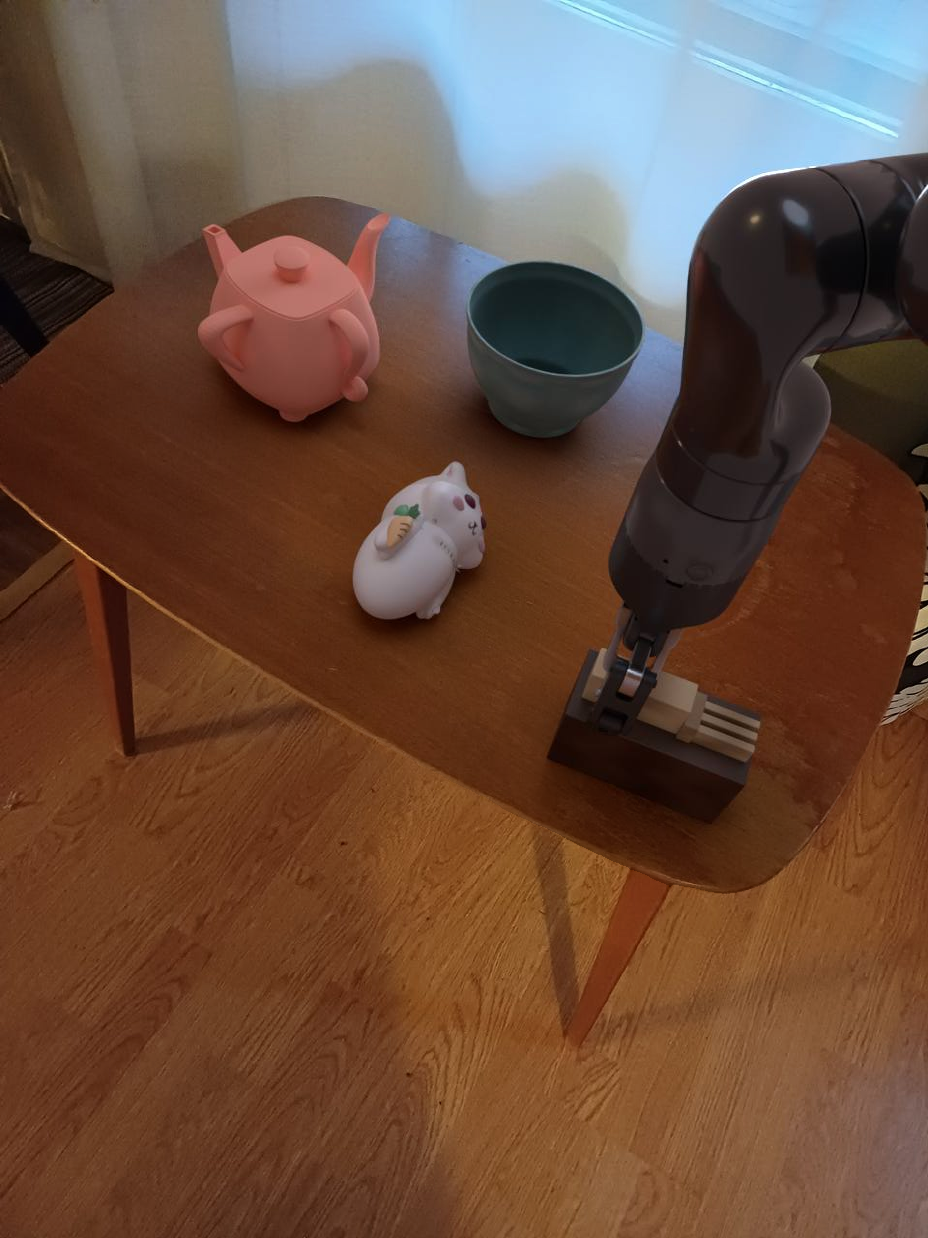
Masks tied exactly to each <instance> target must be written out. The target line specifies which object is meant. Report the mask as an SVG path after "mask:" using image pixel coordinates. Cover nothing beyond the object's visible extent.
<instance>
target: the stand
mask: <svg viewBox="0 0 928 1238" xmlns="http://www.w3.org/2000/svg"><path fill="white" fill-rule="evenodd" d="M599 652H600V650H596V649H594V648H591V647H590V648H589V649H588V652H587V654H586V656H585V658H584V661H583V663H582V666H581V668H580V671H579V673H578V675H577V676H576V677H577V678H576V680H575V682H574V684H573V687H572V689H571V691H570V694H569V696H568V699H567V701H566V704H565V707H564V709H563V712H562V715H561V718H560V719H559V722H558V724H557V725H558V726H557V728H556V730H555V734H554V736H553V738H552V741H551V744H550V747H549V749H548V752H547V755H546V759H548V760H551V761H553V762H555V763H558V764H561V765H564V766H565V767H568V768H570V769H573V770H575V771H577V772H581V773H583V774H586V775H588V776H591V777H593V778H595V779H598V780H599V781H602V782H605V783H608V784H610V785H612V786H615V787H617V788H620V789H622V790H625V791H628V792H629V793H632V794H635V795H638V796H639V797H642V798H645V799H647V800H650V801H652V802H655V803H657V804H660V805H662V806H664V807H667V808H670V809H672V810H675V811H677V812H679V813H682V814H685V815H687V816H690V817H692V818H694V819H696V820H699V821H702V822H703V823H706V824H708V825H712V824H713V823H714V822H715V821H716V819H717V818H719V816H720V815H721V814H722V813H723V812H724V811H725V809H726V808H728V806H729V805H730V804H731V803H732V801H733V800H734V799H735V798H736V797H737V796H738V795H739V794H740V793H741V792H742V791H743V789H744V788H745V787H746V785H747V782H748V776H749V773H750V768H751V763H752V759H753V754H754V753H753V754H752V756H751V757H750V758H749V759H748V760H747V761H746V763H745V762H742V761H740V760H737V759H734V758H732V757H729V756H727V755H724V754H722V753H719V752H717V751H714V750H712V749H709V748H706V747H704V746H701V745H699V744H696V743H694V742H690V743H687V742H684V741H682V740H679V739H677V738H676V735H677V734H674V733H671V732H669V731H666V730H664V729H661V728H659V727H656V726H654V725H651V724H648V723H646V722H643V721H641V720H638V719H636V720H635V722H634V726H633V729H632V731H631V732H630V731H629V733H628V735H627V736H625V735H622V734H620V733H619V734H618V735H617V736H612V737H611V738H610V737H608V736H605V735H603V734H600V733H598V732H595V731H593V730H590V729H591V728H590V727H589V726H588V725H587V724H586V722H587V719H588V716H589V712H590V710H591V708H592V707H593V705H594V703H595V702H592V701H590V700H587V699H585V698H582V694H583V692H584V689H585V686H586V683H587V681H588V678H589V675H590V672H591V670H592V668H593V665H594V663H595V661H596V659H597V656H598V654H599ZM697 691H698V692H700V693H703V694H705V695H707V700H706V701H708V702H710V703H713V704H715V705H718V706H721V707H723V708H726V709H728V710H731V711H733V712H736V713H739V714H741V715H744V716H746V717H749V718H752V719H754V720H757V721H759V722H761V719H762V714H761V713H759V712H756V711H753V710H751V709H748V708H745V707H743V706H741V705H738V704H736V703H733V702H730V701H728V700H725V699H723V698H720V697H718V696H715V695H712V694H709V693H707V692H705V691H703V690H700V689H697ZM756 733H757V734H759V730H758V731H757V732H756ZM753 745H754V746H755V747H756V742H755V743H754V744H753Z"/></svg>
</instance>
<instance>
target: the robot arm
mask: <svg viewBox="0 0 928 1238" xmlns="http://www.w3.org/2000/svg"><path fill="white" fill-rule="evenodd" d="M686 275H687V276H686V293H685V295H686V296H685V321H684V335H683V346H682V347H683V348H682V356H681V357H682V359H681V370H680V371H681V372H680V373H681V374H680V383H679V391H678V394H677V396H676V398H675V400H674V403H673V405H672V408H671V410H670V413H669V416H668V417H667V420H666V423H665V426H664V428H663V431H662V434H661V435H660V438H659V440H658V443H657V445H656V447H655V448H654V451H653V452H652V454H651V455H650V457H649V458H648V460H647V462H646V463H645V464H644V467H643V468H642V470H641V473H640V475H639V477H638V479H637V482H636V484H635V487H634V489H633V492H632V495H631V497H630V500H629V502H628V505H627V506H626V510H625V512H624V515H623V518H622V520H621V522H620V524H619V528H618V529H617V531H616V535H615V538H614V540H613V541H612V542H613V543H612V545H611V547H610V551H609V554H608V561H607V568H608V574H609V578H610V581H611V584H612V585H613V588H614V589H615V591H616V593H617V594H618V596H619V597H620V598H621V600H622V601H621V604H620V606H619V609H618V611H617V614H616V615H615V616H616V617H615V620H614V625H615V629H614V631H613V634H612V636H611V639H610V642H609V644H608V647H607V648H606V649H607V651H606V654H605V656H604V660H603V668H604V670H605V671H606V675H605V678H604V680H603V683H602V685H601V687H600V690H599V689H597V692H596V694H595V697H597V698H596V701H595V703H594V705H593V707H592V708H591V710H590V712H589V716H588V719H587V722H586V724H587V725H588V726H589V727H590V728H591V729H590V730H593V731H595V732H598V733H600V734H603V735H605V736H608V737H610V738H611V737H612V736H617V735H618V734H619V733H620V734H622V735H625V736H627V735H628V733H629V731H630V732H631V731H632V729H633V726H634V722H635V720H636V718H637V717H638V715H639V713H640V711H641V709H642V707H643V706H644V704H645V702H646V700H647V698H648V696H649V695H650V693H651V691H652V689H653V688H654V689H655V687H656V685H657V682H658V680H657V679H658V677H659V675H660V672H661V671H663V668H664V665H665V663H666V660H667V659H668V656H669V654H670V652H671V650H672V649H673V648H676V647H677V645H678V644H679V641H680V639H681V637H682V635H683V632H684V630H685V628H692V627H699V626H702V625H706V624H708V623H710V622H712V621H713V620H716V619H717V618H719V617H720V616H721V615H722V614H724V612H726V610H727V609H728V608H729V607H730V605H731V603H732V601H733V600H734V599H735V597H736V595H737V594H738V592H739V590H740V588H741V587H742V585H743V584H744V582H745V581H746V579H747V577H748V575H749V574H750V572H751V571H752V569H753V567H754V566H755V564H756V563H757V561H758V559H759V558H760V556H761V554H762V553H763V552H764V550H765V548H766V547H767V544H768V542H769V541H770V540H771V538H772V536H773V534H774V533H775V530H776V528H777V526H778V523H779V521H780V519H781V516H782V513H783V510H784V509H785V506H786V504H787V502H788V501H789V500H788V499H789V498H790V497H791V495H792V494H793V492H794V490H795V489H796V487H797V485H798V483H799V482H800V480H801V478H802V477H803V475H804V473H805V472H806V470H807V469H808V467H809V465H810V463H811V462H812V460H813V458H814V457H815V456H816V453H817V452H818V450H819V449H820V446H821V444H822V442H823V440H824V437H825V436H826V433H827V431H828V429H829V426H830V420H831V413H832V405H831V403H832V402H831V397H830V396H831V395H830V393H829V390H828V388H827V385H826V383H825V382H824V380H823V378H822V377H821V376H820V375H819V373H817V372H816V370H815V369H814V368H813V367H811V366H810V365H809V364H808V363H806V362H805V361H804V359H805V358H809V357H813V356H814V357H815V356H817V355H823V354H829V353H833V352H838V351H843V350H848V349H854V348H858V347H862V346H868V345H873V344H878V343H883V342H893V341H894V342H895V341H910V340H911V341H912V340H919V341H920V342H921V343H922V344H924V345H925V346H926V347H928V152H917V153H910V154H909V153H908V154H899V155H891V156H883V157H875V158H867V159H860V160H854V161H846V162H839V163H830V164H823V165H822V164H821V165H813V166H807V167H800V168H798V167H797V168H791V169H783V170H782V169H781V170H776V171H770V172H766V173H762V174H759V175H755V176H752V177H750V178H748V179H746V180H745V181H743V182H741V183H740V184H738V185H737V186H735V187H734V188H733V189H732V190H730V191H729V192H728V193H727V194H726V195H724V197H723V198H722V199H721V201H719V202H718V203H717V205H716V206H715V207H714V209H713V210H712V211H711V213H710V214H709V216H708V217H707V218H706V220H705V221H704V223H703V225H702V226H701V228H700V230H699V232H698V234H697V236H696V239H695V241H694V243H693V245H692V249H691V253H690V258H689V260H688V267H687V274H686ZM621 642H622V645H623V647H624V648H625V649H626V650H628V651H630V652H631V654H630V657H629V658H630V659H629V661H628V660H625V659H623V658H620V657H619V656H618V655H617V654H618V653H617V652H618V651H617V650H618V649H619V646H620V644H621ZM649 658H654V660H653V662H652V664H651V665H648V664H647V663H648V661H649ZM646 665H648V666H649V667H646Z"/></svg>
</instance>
